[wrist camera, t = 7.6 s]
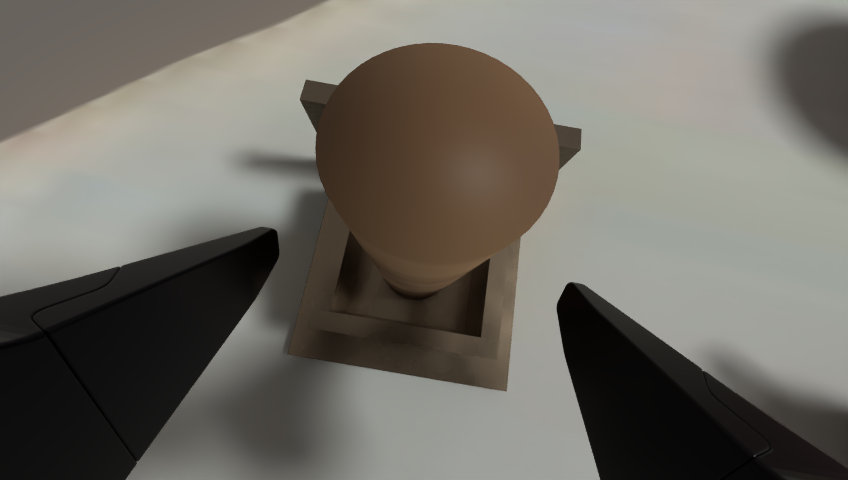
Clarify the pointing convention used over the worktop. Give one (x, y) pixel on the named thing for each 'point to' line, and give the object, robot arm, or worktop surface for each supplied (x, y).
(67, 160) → the worktop surface
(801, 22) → the worktop surface
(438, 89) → the wooden pestle
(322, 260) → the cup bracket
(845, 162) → the worktop surface
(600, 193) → the worktop surface
